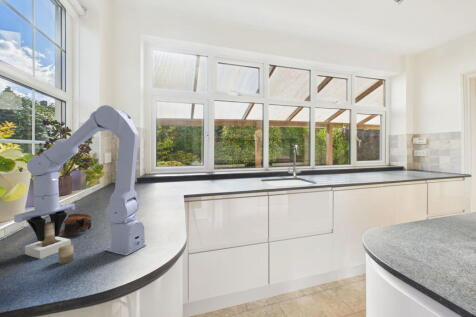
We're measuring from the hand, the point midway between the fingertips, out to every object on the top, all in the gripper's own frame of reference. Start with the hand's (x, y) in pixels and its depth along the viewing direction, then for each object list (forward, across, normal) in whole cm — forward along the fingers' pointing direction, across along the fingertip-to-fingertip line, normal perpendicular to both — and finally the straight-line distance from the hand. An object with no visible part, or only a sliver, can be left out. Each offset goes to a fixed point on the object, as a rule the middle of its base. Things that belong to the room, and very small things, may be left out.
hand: (48, 238), depth 66 cm
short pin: (+4, +2, +12) cm, 13 cm away
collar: (+4, 0, 0) cm, 4 cm away
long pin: (+2, 0, 0) cm, 2 cm away
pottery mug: (+4, -13, -8) cm, 16 cm away
